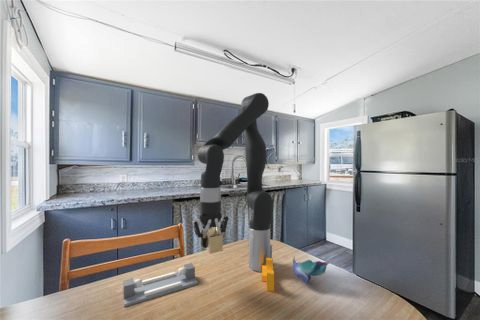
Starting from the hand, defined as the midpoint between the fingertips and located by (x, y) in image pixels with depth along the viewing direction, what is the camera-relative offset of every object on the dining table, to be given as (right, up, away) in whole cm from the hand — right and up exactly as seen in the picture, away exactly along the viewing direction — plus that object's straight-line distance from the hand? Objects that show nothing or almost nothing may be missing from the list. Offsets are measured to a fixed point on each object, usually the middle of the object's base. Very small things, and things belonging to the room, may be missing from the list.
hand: (210, 245), depth 76 cm
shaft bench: (-18, -15, 0) cm, 23 cm away
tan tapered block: (0, -1, 0) cm, 1 cm away
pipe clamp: (+21, -16, +4) cm, 27 cm away
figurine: (+37, -16, +3) cm, 40 cm away
